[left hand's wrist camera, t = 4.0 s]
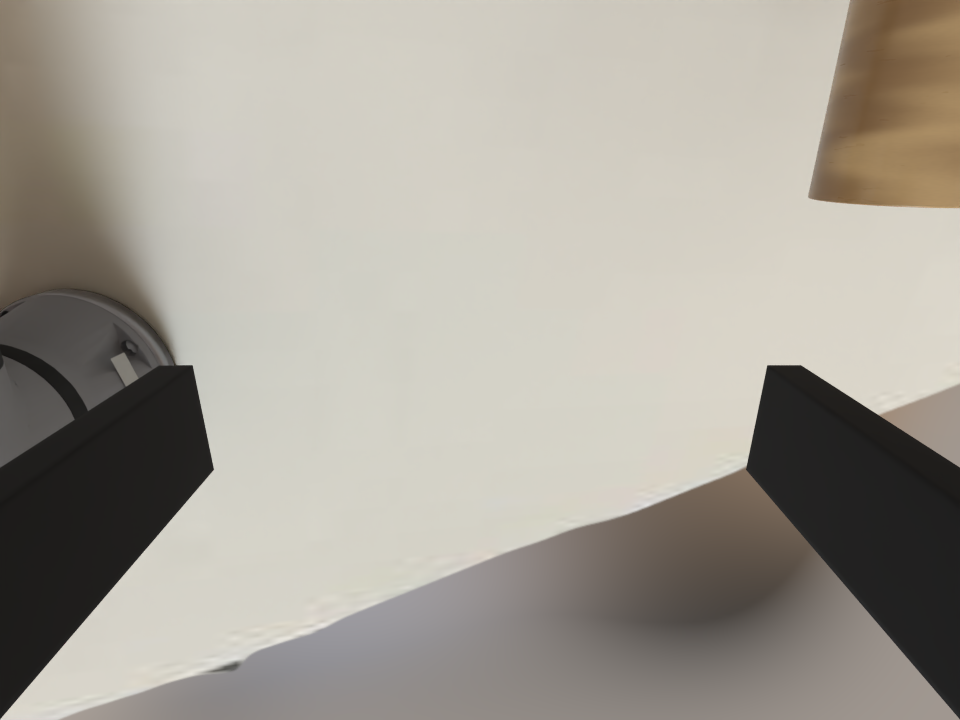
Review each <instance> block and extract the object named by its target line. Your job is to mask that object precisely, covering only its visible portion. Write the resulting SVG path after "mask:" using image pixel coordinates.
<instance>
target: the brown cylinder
mask: <svg viewBox="0 0 960 720" xmlns="http://www.w3.org/2000/svg"><path fill="white" fill-rule="evenodd" d="M808 198H810V199H814V200H819V201H827V202H836V203H847V204H861V205H876V206H896V207H923V208H960V0H850V4H849V9H848V13H847V18H846V22H845V27H844V32H843V36H842V41H841V46H840V50H839V55H838V60H837V64H836V69H835V74H834V78H833V83H832V88H831V92H830V97H829V102H828V106H827V111H826V116H825V120H824V125H823V130H822V134H821V139H820V144H819V148H818V153H817V158H816V162H815V167H814V171H813V176H812V181H811V185H810V190H809V195H808Z"/></svg>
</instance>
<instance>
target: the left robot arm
mask: <svg viewBox="0 0 960 720" xmlns="http://www.w3.org/2000/svg"><path fill="white" fill-rule="evenodd" d="M213 470H214V468H213V463H212V458H211V453H210V448H209V444H208V439H207V434H206V429H205V424H204V419H203V414H202V409H201V404H200V400H199V395H198V390H197V385H196V380H195V375H194V370H193V365H174V363H173V361H172V358H171V356H170V354H169V352H168V350H167V348H166V346H165V345H164V343H163V342H162V340H161V339H160V338H159V336H158V335H157V334H156V332H155V331H154V330H153V329H152V328H151V327H150V326H149V325H148V324H147V323H146V322H145V321H144V320H143V319H142V318H140V317H139V316H138V315H137V314H136V313H134V312H133V311H131V310H130V309H128V308H127V307H125V306H123V305H122V304H120V303H118V302H116V301H114V300H112V299H110V298H107V297H105V296H102V295H99V294H96V293H92V292H88V291H83V290H75V289H58V290H51V291H46V292H42V293H39V294H36V295H33V296H29V297H26V298H23V299H20V300H18V301H15V302H13V303H12V304H10V305H8V306H7V307H5V308H4V309H3V310H2V311H0V719H1V718H2V716H3V715H4V714H5V713H6V712H7V711H8V709H9V708H10V707H11V706H12V705H13V704H14V702H15V701H16V700H17V699H18V698H19V697H20V695H21V694H22V693H23V692H24V691H25V690H26V688H27V687H28V686H29V685H30V684H31V683H32V681H33V680H34V679H35V678H36V677H37V676H38V674H39V673H40V672H41V671H42V670H43V669H44V667H45V666H46V665H47V664H48V663H49V662H50V660H51V659H52V658H53V657H54V656H55V655H56V653H57V652H58V651H59V650H60V649H61V648H62V646H63V645H64V644H65V643H66V642H67V641H68V639H69V638H70V637H71V636H72V635H73V633H74V632H75V631H76V630H77V629H78V628H79V626H80V625H81V624H82V623H83V622H84V621H85V619H86V618H87V617H88V616H89V615H90V614H91V612H92V611H93V610H94V609H95V608H96V607H97V605H98V604H99V603H100V602H101V601H102V600H103V598H104V597H105V596H106V595H107V594H108V593H109V591H110V590H111V589H112V588H113V587H114V586H115V584H116V583H117V582H118V581H119V580H120V579H121V577H122V576H123V575H124V574H125V573H126V572H127V570H128V569H129V568H130V567H131V566H132V565H133V563H134V562H135V561H136V560H137V559H138V558H139V556H140V555H141V554H142V553H143V552H144V551H145V549H146V548H147V547H148V546H149V545H150V544H151V542H152V541H153V540H154V539H155V538H156V537H157V535H158V534H159V533H160V532H161V531H162V530H163V528H164V527H165V526H166V525H167V524H168V523H169V521H170V520H171V519H172V518H173V517H174V516H175V514H176V513H177V512H178V511H179V510H180V509H181V507H182V506H183V505H184V504H185V503H186V502H187V500H188V499H189V498H190V497H191V496H192V495H193V493H194V492H195V491H196V490H197V489H198V488H199V486H200V485H201V484H202V483H203V482H204V481H205V479H206V478H207V477H208V476H209V475H210V474H211V472H212V471H213ZM746 470H747V471H748V472H749V474H750V475H751V476H752V477H753V478H754V479H755V481H756V482H757V483H758V484H759V485H760V486H761V488H762V489H763V490H764V491H765V492H766V493H767V494H768V496H769V497H770V498H771V499H772V500H773V502H774V503H775V504H776V505H777V506H778V507H779V509H780V510H781V511H782V512H783V513H784V514H785V516H786V517H787V518H788V519H789V520H790V521H791V523H792V524H793V525H794V526H795V527H796V528H797V530H798V531H799V532H800V533H801V534H802V535H803V537H804V538H805V539H806V540H807V541H808V542H809V544H810V545H811V546H812V547H813V548H814V549H815V551H816V552H817V553H818V554H819V555H820V556H821V558H822V559H823V560H824V561H825V562H826V563H827V565H828V566H829V567H830V568H831V569H832V570H833V572H834V573H835V574H836V575H837V576H838V577H839V579H840V580H841V581H842V582H843V583H844V584H845V586H846V587H847V588H848V589H849V590H850V591H851V593H852V594H853V595H854V596H855V597H856V598H857V600H858V601H859V602H860V603H861V604H862V605H863V607H864V608H865V609H866V610H867V611H868V612H869V614H870V615H871V616H872V617H873V618H874V619H875V621H876V622H877V623H878V624H879V625H880V626H881V628H882V629H883V630H884V631H885V632H886V633H887V635H888V636H889V637H890V638H891V639H892V641H893V642H894V643H895V644H896V645H897V646H898V648H899V649H900V650H901V651H902V652H903V653H904V654H905V656H906V657H907V658H908V659H909V660H910V661H911V663H912V664H913V665H914V666H915V667H916V669H917V670H918V671H919V672H920V673H921V674H922V676H923V677H924V678H925V679H926V680H927V681H928V683H929V684H930V685H931V686H932V687H933V688H934V690H935V691H936V692H937V693H938V694H939V695H940V696H941V698H942V699H943V700H944V701H945V702H946V704H947V705H948V706H949V707H950V708H951V709H952V710H953V712H954V713H955V714H956V715H957V716H958V718H959V719H960V467H958V466H957V465H955V464H953V463H952V462H950V461H949V460H947V459H946V458H944V457H942V456H941V455H939V454H938V453H936V452H935V451H933V450H932V449H930V448H929V447H927V446H925V445H924V444H922V443H921V442H919V441H918V440H916V439H915V438H913V437H911V436H910V435H908V434H907V433H905V432H904V431H902V430H901V429H899V428H897V427H896V426H894V425H893V424H891V423H890V422H888V421H887V420H885V419H883V418H882V417H880V416H879V415H877V414H876V413H874V412H873V411H871V410H869V409H868V408H866V407H865V406H863V405H862V404H860V403H859V402H857V401H855V400H854V399H852V398H851V397H849V396H848V395H846V394H845V393H843V392H841V391H840V390H838V389H837V388H835V387H834V386H832V385H831V384H829V383H828V382H826V381H824V380H823V379H821V378H820V377H818V376H817V375H815V374H814V373H812V372H810V371H809V370H807V369H806V368H804V367H803V366H801V365H767V370H766V375H765V380H764V385H763V390H762V395H761V400H760V404H759V409H758V414H757V419H756V424H755V429H754V434H753V439H752V444H751V448H750V453H749V458H748V463H747V468H746Z"/></svg>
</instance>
